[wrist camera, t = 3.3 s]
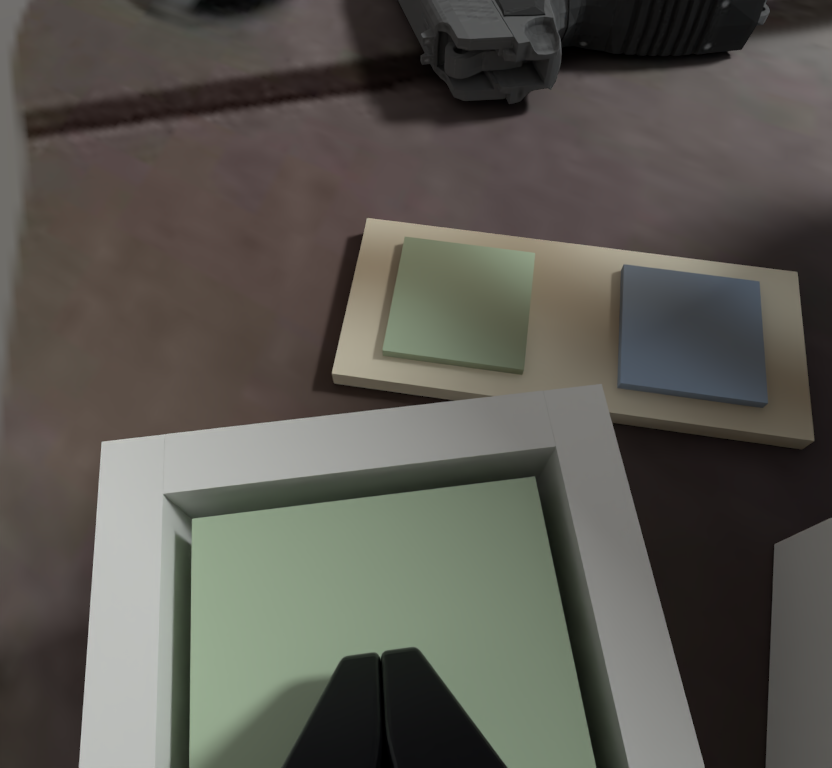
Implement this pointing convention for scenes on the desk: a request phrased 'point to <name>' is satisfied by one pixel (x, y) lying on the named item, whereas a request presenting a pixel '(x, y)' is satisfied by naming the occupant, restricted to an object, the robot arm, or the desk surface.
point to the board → (579, 330)
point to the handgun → (564, 36)
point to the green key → (382, 618)
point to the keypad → (414, 471)
